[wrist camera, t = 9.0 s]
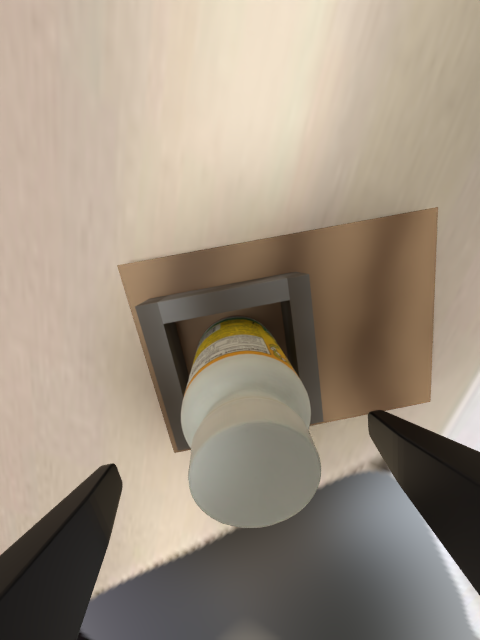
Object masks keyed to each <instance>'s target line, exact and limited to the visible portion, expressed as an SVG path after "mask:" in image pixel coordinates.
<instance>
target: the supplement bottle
mask: <svg viewBox="0 0 480 640" xmlns="http://www.w3.org/2000/svg"><path fill="white" fill-rule="evenodd" d="M310 419H311V407H310V401H309V397H308V394H307V391H306V389H305V387H304V385H303V383H302V381H301V380H300V378H299V377H298V375H297V373H296V372H295V370H294V369H293V367H292V365H291V364H290V362H289V361H288V359H287V358H286V356H285V355H284V353H283V352H282V350H281V348H280V347H279V345H278V343H277V342H276V340H275V339H274V337H273V336H272V334H271V333H270V332H269V331H268V330H267V329H266V328H265V327H264V326H263V325H262V324H261V323H260V322H258V321H256V320H254V319H252V318H249V317H244V316H233V317H227V318H224V319H221V320H219V321H217V322H216V323H214V324H213V325H211V326H210V327H209V328H208V329H207V330H206V331H205V333H204V334H203V336H202V337H201V339H200V341H199V344H198V347H197V350H196V354H195V358H194V362H193V365H192V369H191V372H190V376H189V380H188V383H187V387H186V390H185V394H184V398H183V402H182V408H181V425H182V430H183V434H184V436H185V439H186V441H187V443H188V445H189V447H190V448H191V458H190V465H189V473H188V480H189V487H190V491H191V494H192V497H193V499H194V500H195V502H196V504H197V505H198V506H199V507H200V508H201V510H202V511H203V512H205V513H206V514H207V515H209V516H210V517H211V518H213V519H215V520H217V521H219V522H221V523H223V524H227V525H231V526H236V527H241V528H259V527H265V526H269V525H273V524H276V523H278V522H281V521H284V520H286V519H288V518H290V517H291V516H293V515H295V514H296V513H298V512H299V511H300V510H302V508H304V507H305V506H306V505H307V504H308V502H309V501H310V500H311V499H312V497H313V496H314V494H315V492H316V490H317V488H318V485H319V482H320V477H321V463H320V458H319V454H318V452H317V449H316V447H315V445H314V443H313V440H312V438H311V436H310V433H309V431H308V429H309V425H310Z"/></svg>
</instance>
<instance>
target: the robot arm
mask: <svg viewBox="0 0 480 640" xmlns="http://www.w3.org/2000/svg"><path fill="white" fill-rule="evenodd" d="M368 428H369V434H370V437H371V439H372V441H373V442H374V444H375V446H376V447H377V449H378V451H379V452H380V454H381V456H382V457H383V459H384V461H385V462H386V464H387V466H388V467H389V469H390V471H391V472H392V474H393V476H394V477H395V479H396V480H397V482H398V483H399V485H400V486H401V488H402V489H403V491H404V492H405V493H406V495H407V496H408V498H409V499H410V500H411V502H412V503H413V504H414V506H415V507H416V509H417V510H418V511H419V513H420V514H421V515H422V517H423V518H424V520H425V521H426V522H427V524H428V525H429V526H430V528H431V529H432V531H433V532H434V533H435V535H436V536H437V537H438V539H439V540H440V542H441V543H442V544H443V546H444V547H445V548H446V550H447V551H448V553H449V554H450V555H451V557H452V558H453V559H454V561H455V562H456V564H457V565H458V566H459V568H460V569H461V570H462V572H463V573H464V575H465V576H466V577H467V579H468V580H469V581H470V583H471V584H472V586H473V587H474V588H475V590H476V591H477V592H478V594H479V595H480V452H478V451H476V450H474V449H471V448H469V447H467V446H464V445H462V444H460V443H457V442H455V441H453V440H450V439H448V438H446V437H443V436H441V435H439V434H436V433H434V432H432V431H429V430H427V429H425V428H422V427H420V426H418V425H415V424H413V423H411V422H408V421H406V420H404V419H401V418H399V417H397V416H394V415H392V414H390V413H387V412H385V411H383V410H375V411H370V412H369V413H368ZM121 492H122V480H121V477H120V475H119V472H118V469H117V467H116V465H115V464H107V465H103V466H101V467H99V468H98V469H97V470H96V471H95V472H94V473H93V474H91V475H90V476H89V477H88V478H87V479H86V480H85V481H84V482H82V483H81V484H80V485H79V486H78V487H77V488H76V489H75V490H73V491H72V492H71V493H70V494H69V495H68V496H67V497H66V498H64V499H63V500H62V501H61V502H60V503H59V504H58V505H57V506H55V507H54V508H53V509H52V510H51V511H50V512H49V513H48V514H46V515H45V516H44V517H43V518H42V519H41V520H40V521H39V522H37V523H36V524H35V525H34V526H33V527H32V528H31V529H30V530H28V531H27V532H26V533H25V534H24V535H23V536H22V537H21V538H19V539H18V540H17V541H16V542H15V543H14V544H13V545H12V546H10V547H9V548H8V549H7V550H6V551H5V552H4V553H3V554H1V555H0V640H77V637H78V634H79V631H80V628H81V625H82V622H83V618H84V616H85V613H86V610H87V607H88V604H89V601H90V598H91V595H92V592H93V589H94V586H95V583H96V580H97V577H98V574H99V571H100V568H101V565H102V562H103V559H104V556H105V553H106V550H107V547H108V544H109V540H110V536H111V533H112V529H113V524H114V520H115V516H116V512H117V508H118V504H119V500H120V496H121Z"/></svg>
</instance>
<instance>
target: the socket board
mask: <svg viewBox="0 0 480 640" xmlns="http://www.w3.org/2000/svg"><path fill="white" fill-rule="evenodd" d="M437 217H438V207H436V208H431V209H425V210H420V211H414V212H409V213H403V214H398V215H392V216H387V217H381V218H376V219H370V220H365V221H359V222H354V223H348V224H343V225H337V226H332V227H326V228H321V229H315V230H310V231H304V232H299V233H293V234H288V235H282V236H277V237H271V238H266V239H260V240H255V241H249V242H244V243H238V244H233V245H227V246H222V247H216V248H211V249H205V250H200V251H194V252H189V253H183V254H178V255H172V256H167V257H161V258H156V259H150V260H145V261H139V262H134V263H128V264H123V265H117V266H118V270H119V273H120V276H121V279H122V283H123V286H124V289H125V293H126V296H127V299H128V302H129V306H130V309H131V312H132V315H133V319H134V322H135V325H136V329H137V332H138V335H139V338H140V342H141V345H142V348H143V352H144V355H145V358H146V361H147V365H148V368H149V371H150V375H151V378H152V381H153V384H154V388H155V391H156V394H157V397H158V401H159V404H160V407H161V411H162V414H163V417H164V420H165V424H166V427H167V430H168V434H169V437H170V440H171V443H172V447H173V450H174V453H176V452H181V451H186V450H191V448H190V447H189V445H188V443H187V441H186V439H185V436H184V434H183V430H182V425H181V408H182V402H183V398H184V394H185V390H186V387H187V383H188V380H189V376H190V372H191V369H192V365H193V362H194V358H195V354H196V350H197V347H198V344H199V341H200V339H201V337H202V336H203V334H204V333H205V331H206V330H207V329H208V328H209V327H210V326H211V325H213V324H214V323H216V322H217V321H219V320H221V319H224V318H227V317H233V316H244V317H249V318H252V319H254V320H256V321H258V322H260V323H261V324H262V325H263V326H264V327H265V328H266V329H267V330H268V331H269V332H270V333H271V334H272V336H273V337H274V339H275V340H276V342H277V343H278V345H279V347H280V348H281V350H282V352H283V353H284V355H285V356H286V358H287V359H288V361H289V362H290V364H291V365H292V367H293V369H294V370H295V372H296V373H297V375H298V377H299V378H300V380H301V381H302V383H303V385H304V387H305V389H306V391H307V394H308V397H309V401H310V407H311V419H310V425H309V426H311V425H316V424H321V423H326V422H331V421H336V420H341V419H346V418H351V417H356V416H361V415H366V414H368V413H369V412H370V411H375V410H383V411H386V410H391V409H396V408H401V407H406V406H411V405H416V404H421V403H426V402H430V395H431V370H432V344H433V319H434V293H435V268H436V242H437Z"/></svg>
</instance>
